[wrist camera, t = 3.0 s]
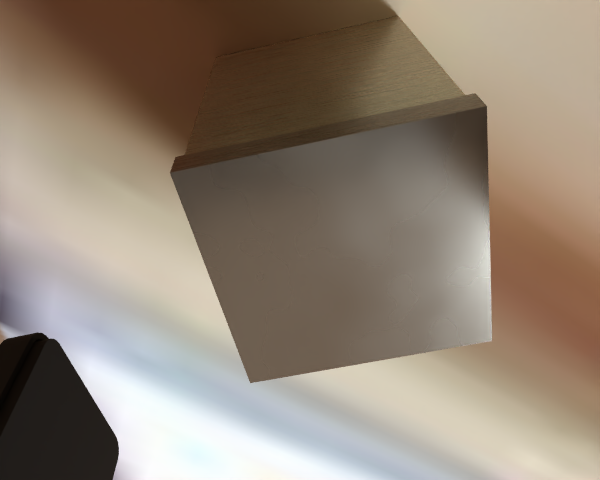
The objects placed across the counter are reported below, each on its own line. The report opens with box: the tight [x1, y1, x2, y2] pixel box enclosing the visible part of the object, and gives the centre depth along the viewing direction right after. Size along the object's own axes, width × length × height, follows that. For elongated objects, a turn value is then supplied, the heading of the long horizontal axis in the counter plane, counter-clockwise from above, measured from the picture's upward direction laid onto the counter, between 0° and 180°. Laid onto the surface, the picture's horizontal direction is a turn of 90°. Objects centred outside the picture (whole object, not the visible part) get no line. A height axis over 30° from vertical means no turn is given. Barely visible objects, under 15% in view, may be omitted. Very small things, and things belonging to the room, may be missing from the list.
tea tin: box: [170, 16, 492, 383], centre depth 13 cm, size 5×5×7 cm
